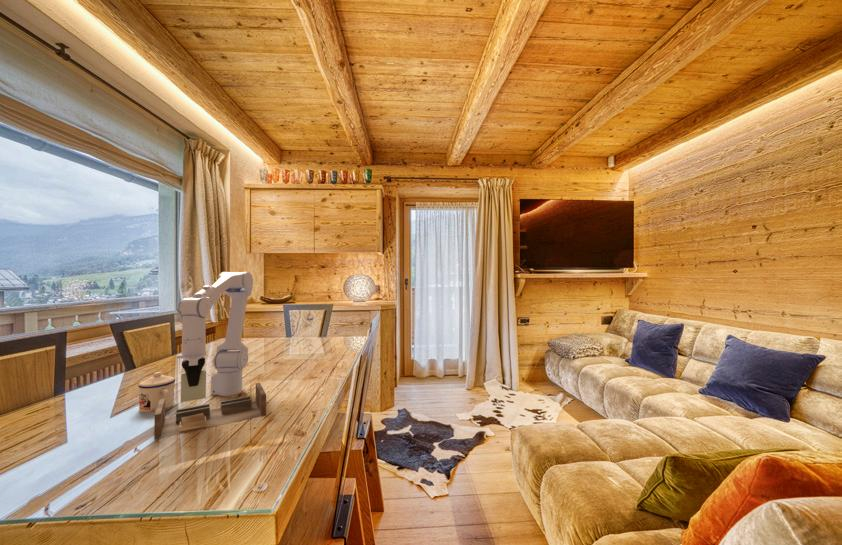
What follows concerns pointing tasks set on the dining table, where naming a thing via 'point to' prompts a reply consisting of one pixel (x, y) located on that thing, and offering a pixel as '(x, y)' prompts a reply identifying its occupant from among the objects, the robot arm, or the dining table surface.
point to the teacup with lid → (156, 392)
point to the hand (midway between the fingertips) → (193, 384)
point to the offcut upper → (192, 419)
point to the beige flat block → (193, 388)
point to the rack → (211, 414)
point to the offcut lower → (192, 426)
